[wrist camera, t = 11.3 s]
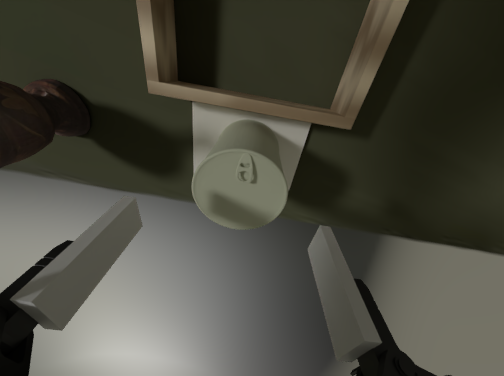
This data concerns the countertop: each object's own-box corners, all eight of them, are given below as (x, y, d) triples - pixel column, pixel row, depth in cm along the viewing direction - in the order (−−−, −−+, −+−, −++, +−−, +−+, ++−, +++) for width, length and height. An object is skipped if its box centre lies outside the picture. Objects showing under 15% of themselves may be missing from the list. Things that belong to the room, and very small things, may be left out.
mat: (194, 100, 24) (192, 101, 23) (310, 122, 24) (311, 123, 24) (194, 172, 30) (193, 174, 29) (288, 188, 30) (289, 190, 30)
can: (286, 126, 24) (303, 162, 14) (270, 183, 29) (275, 239, 19) (219, 113, 24) (188, 140, 14) (215, 173, 29) (189, 225, 19)
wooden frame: (153, -116, 15) (110, -191, 11) (405, -57, 16) (456, -105, 12) (169, 89, 23) (148, 92, 19) (335, 120, 24) (350, 129, 20)
